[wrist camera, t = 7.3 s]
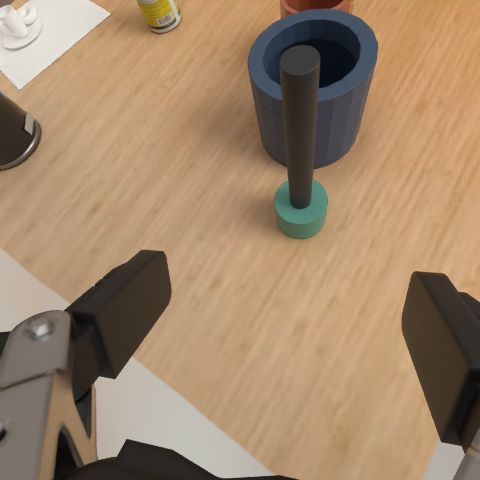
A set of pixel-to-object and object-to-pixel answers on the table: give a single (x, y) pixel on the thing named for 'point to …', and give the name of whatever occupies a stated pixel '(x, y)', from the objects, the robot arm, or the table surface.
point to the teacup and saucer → (42, 34)
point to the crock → (314, 5)
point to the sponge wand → (300, 145)
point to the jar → (330, 78)
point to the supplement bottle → (160, 14)
